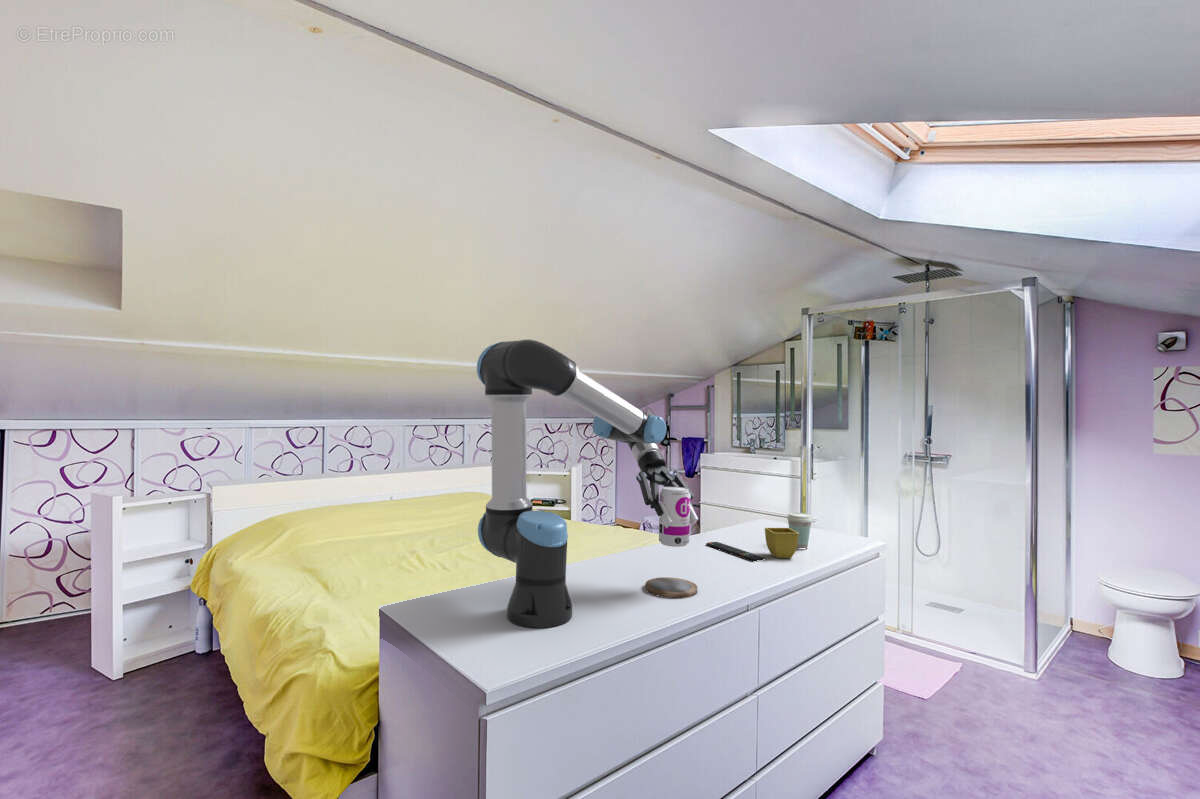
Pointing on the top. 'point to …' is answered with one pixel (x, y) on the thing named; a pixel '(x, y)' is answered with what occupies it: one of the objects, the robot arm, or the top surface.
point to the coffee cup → (800, 527)
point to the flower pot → (781, 541)
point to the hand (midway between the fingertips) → (682, 523)
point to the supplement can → (675, 516)
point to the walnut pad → (671, 587)
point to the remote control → (735, 551)
